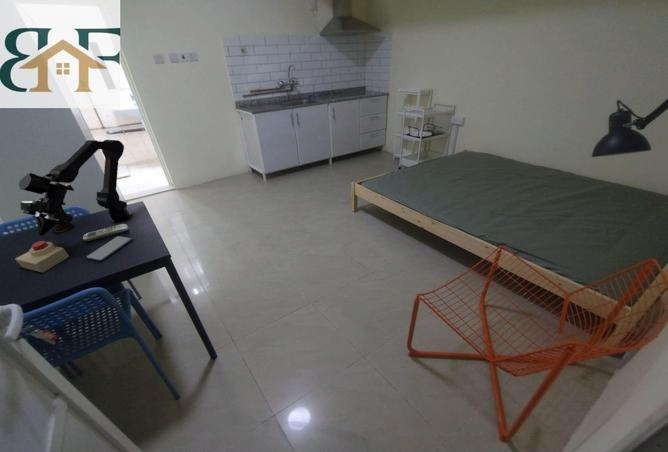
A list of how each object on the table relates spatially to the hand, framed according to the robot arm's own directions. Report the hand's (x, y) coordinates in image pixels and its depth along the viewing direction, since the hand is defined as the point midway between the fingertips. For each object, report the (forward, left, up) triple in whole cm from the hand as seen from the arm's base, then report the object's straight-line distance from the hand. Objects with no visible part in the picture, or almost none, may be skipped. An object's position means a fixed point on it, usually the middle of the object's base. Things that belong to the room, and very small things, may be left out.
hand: (40, 235), depth 110 cm
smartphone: (-21, +3, -11) cm, 23 cm away
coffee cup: (+7, -25, -11) cm, 28 cm away
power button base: (+2, +3, -11) cm, 11 cm away
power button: (+1, +2, -5) cm, 5 cm away
